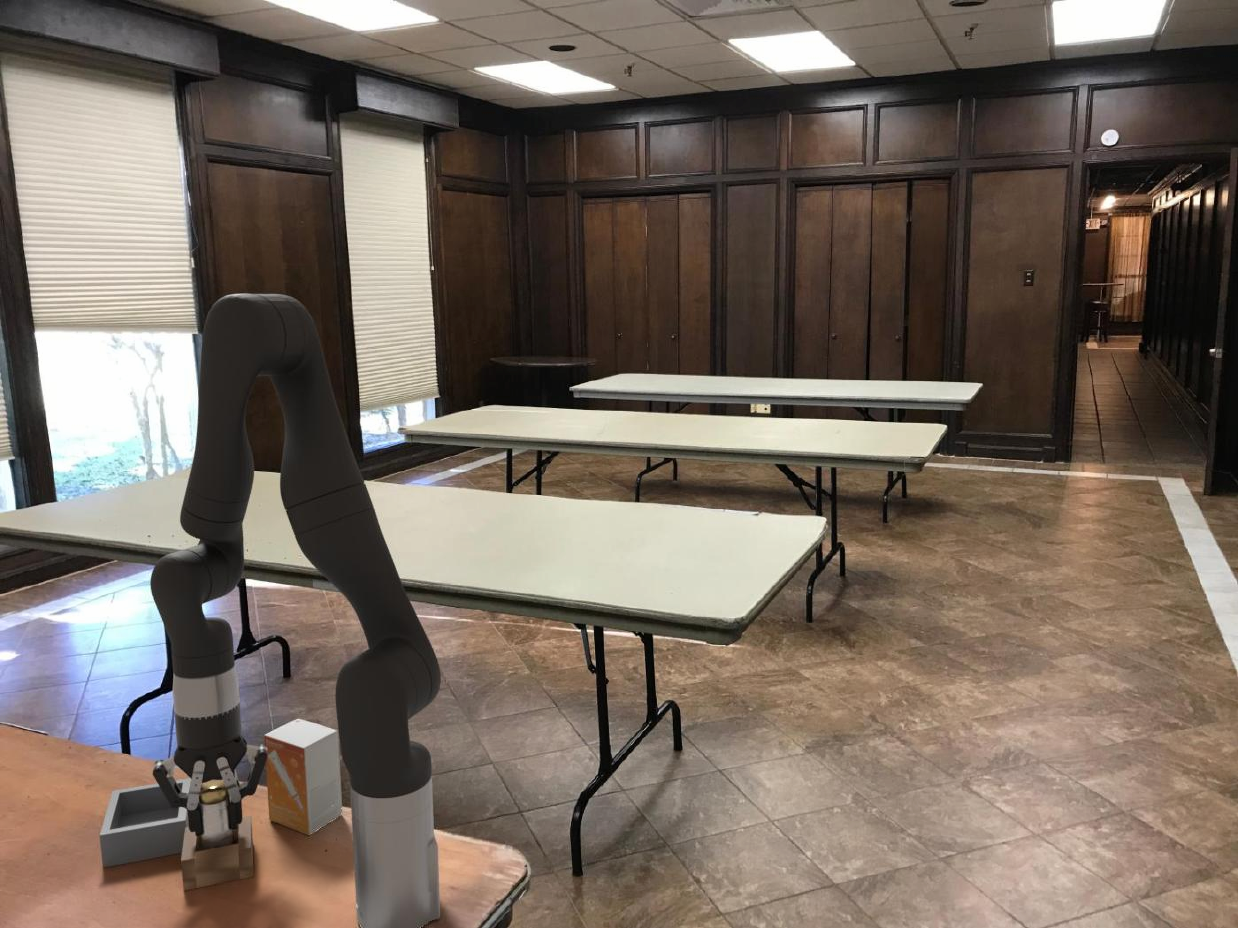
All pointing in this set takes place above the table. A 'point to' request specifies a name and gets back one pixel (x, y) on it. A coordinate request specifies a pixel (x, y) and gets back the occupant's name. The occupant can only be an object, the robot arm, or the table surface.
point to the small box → (303, 775)
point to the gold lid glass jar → (215, 815)
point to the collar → (217, 858)
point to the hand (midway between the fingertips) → (216, 828)
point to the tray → (142, 825)
